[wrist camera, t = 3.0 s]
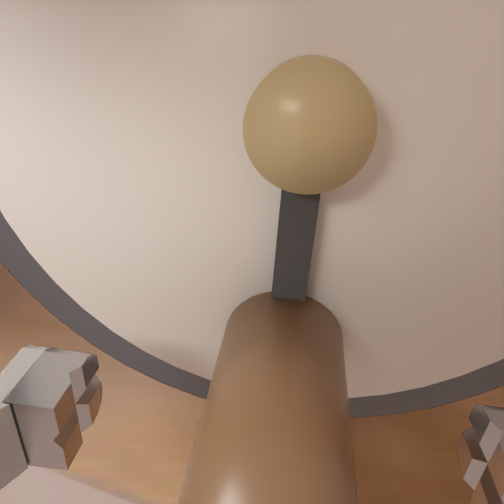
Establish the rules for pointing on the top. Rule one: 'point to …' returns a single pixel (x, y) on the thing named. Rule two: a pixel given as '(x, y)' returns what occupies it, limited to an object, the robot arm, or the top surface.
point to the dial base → (75, 317)
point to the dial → (267, 206)
